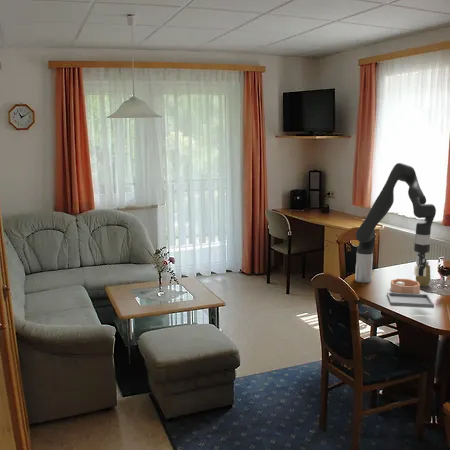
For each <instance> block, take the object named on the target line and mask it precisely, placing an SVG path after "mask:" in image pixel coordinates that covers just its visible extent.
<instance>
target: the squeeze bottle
mask: <svg viewBox="0 0 450 450" xmlns="http://www.w3.org/2000/svg"><path fill="white" fill-rule="evenodd" d="M425 256H426V257H427V255H426V254H425ZM429 262H430V261H428V260H427V259H426V265H425V268H426V276H415V281H417V282H419V284H420V287H428V286H429V284H430V282H431V265H430V264H429ZM422 266H423V265H422Z"/></svg>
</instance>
